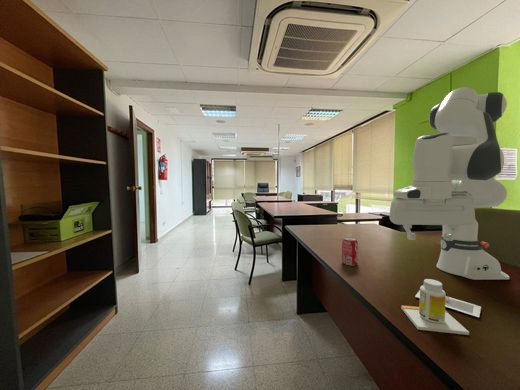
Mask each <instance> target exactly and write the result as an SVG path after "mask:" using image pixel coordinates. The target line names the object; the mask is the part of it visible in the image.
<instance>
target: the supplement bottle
mask: <svg viewBox="0 0 520 390" xmlns="http://www.w3.org/2000/svg"><path fill="white" fill-rule="evenodd" d="M419 290H420V298H419V305H418V307H419V314H420V316H421V317H422V318H424V319H425V320H427V321H430V322H433V323H443V322H444V321H445V310H446V307H445V302H446V292H445V290H443V283H442V282H441V281H439V280H436V279H432V278H431V279H430V278H425V279H424V280H423V285H421V286H420V287H419Z"/></svg>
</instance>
